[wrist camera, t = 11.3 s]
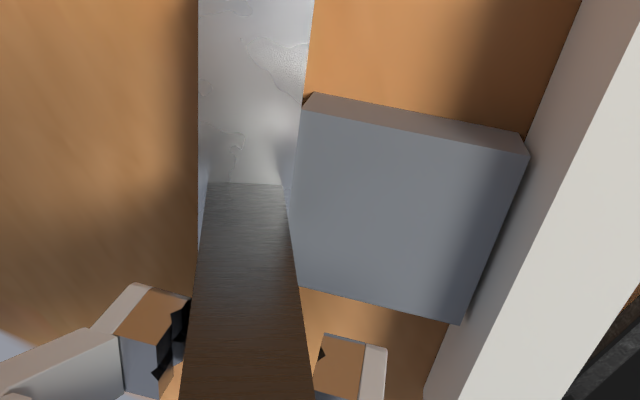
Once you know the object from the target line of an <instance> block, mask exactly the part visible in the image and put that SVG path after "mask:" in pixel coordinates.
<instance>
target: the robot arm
mask: <svg viewBox="0 0 640 400" xmlns="http://www.w3.org/2000/svg"><path fill="white" fill-rule="evenodd" d="M191 302H192V298H190V297H187V296H183V295H180V294H177V293H173V292H170V291H166V290H163V289H159V288H156V287H151V286H148V285H145V284H141V283H138V282H134V283H132V284H130V285H128V286H127V287H126V289H125V290H124V291H123V292H122V293H121V294H120V295H119V296H118V297H117V299H116V300H115V301H114V302H113V303H112V304H111V305H110V306H109V307H108V309H107V310H106V311H105V312H104V313H103V314H102V315H101V316H100V317H99V319H98V320H97V321H96V322H95V323H94V324H93V325H92V326H91V327H90V329H89V328H85V327H83V328H80V329H78V330H76V331H73V332H71V333H69V334H66V335H64V336H62V337H59V338H57V339H55V340H52V341H50V342H47V343H45V344H43V345H40V346H38V347H36V348H33V349H31V350H29V351H26V352H24V353H22V354H19V355H17V356H15V357H12V358H10V359H8V360H5V361H3V362H0V400H115V399H117V398H118V397H120V396H121V395H123V394H124V391H126V392H130V393H133V394H137V395H141V396H145V397H149V398H153V399H157V400H160V398H161V396H162V395H163V393H164V391H165V390H166V388H167V386H168V385H169V383H170V382H171V380H172V378H173V377H174V373H173V366H175V365H176V364H178V363H180V362H182V361H183V360H184V354H185V347H186V339H187V332H188V325H189V317H190V310H191ZM387 356H388V351H387V348H383V347H380V346H376V345H372V344H368V343H366V344H365V343H364V342H360V341H356V340H352V339H349V338H345V337H341V336H337V335H333V334H329V333H324V336H323V339H322V343H321V347H320V351H319V356H318V360H317V362H316V366H315V370H314V373H313V377H312V379H313V386H314V392H315V399H316V400H384V389H385V378H386V367H387Z"/></svg>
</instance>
